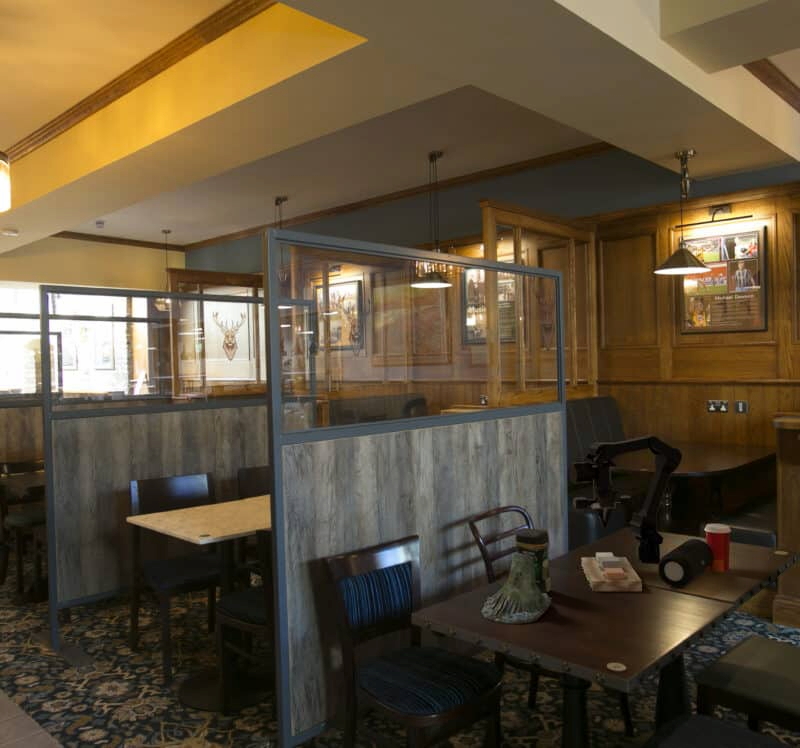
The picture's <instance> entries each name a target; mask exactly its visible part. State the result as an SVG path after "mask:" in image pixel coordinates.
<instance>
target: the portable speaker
mask: <svg viewBox="0 0 800 748" xmlns="http://www.w3.org/2000/svg"><path fill="white" fill-rule="evenodd" d="M712 562H713V552H712V550H711V548H710V546H709V545H708V544H707V542H705V541H704V540H701V539H699V538H691V539H688V540H687V541H684V542H682V543H681V544H680V545H678V546H677V547H675V548H674V549H672V550H671V551H669V552H667V553H666V554H665V555H663V556H662V557H660V562H658V570H657V571H658V574H659V577H660V579H661V581H663V582H664V583H665V584H666V585H668V586H670V587H673V588H678V589H680V588H682V587H683V588H685V587H686V586H687V585H689V584H690V582H692V581H693V580H695V579H696V578H697V577H698V576H700V575H701V574H702V573H703V572H704V571H706V570H708V569H709V567H710V566H711V564H712Z"/></svg>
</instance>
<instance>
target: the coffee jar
mask: <svg viewBox="0 0 800 748" xmlns="http://www.w3.org/2000/svg"><path fill="white" fill-rule="evenodd" d="M514 540H515V541H514V542H515V547H516V549H517V553H518V554H523V555H528V556H532V557H534V570H535V580H536V585H537V586H538V588H539V589H540V592H541V593H545V594H548V593H549V592H550V591H551V589H552V588H551V587H552V585H551V577H550V569H549V561H548V559H549V558H548V552H549V551H548V549H549V546H550V539H549V533H548V531H547V530H545V529H544V530H543V529H537V528H529V527H522V528H519V529H518V530H516V532H515V539H514Z"/></svg>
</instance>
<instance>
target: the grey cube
mask: <svg viewBox="0 0 800 748" xmlns="http://www.w3.org/2000/svg"><path fill="white" fill-rule="evenodd" d="M617 557H618V556H614V557H600V570H601V571H604V568H619V560H618V559H617Z"/></svg>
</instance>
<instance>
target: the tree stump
mask: <svg viewBox="0 0 800 748" xmlns="http://www.w3.org/2000/svg"><path fill="white" fill-rule="evenodd" d="M510 565H511V566H510V570H509V571H510V572H509V575H508V578H507V581H506V582H504V584H503V585H502V586H501V589H499V590H498V591H497V593H495V594H494V595H492V597H490V596H489V597H487V601H486V602H484V605H483V608H482V609H481V614H482V616H483V617H484V618H485V619H487V620H489V621H492V622H494V623H500V624H503V625H504V624H508V625H519V624H529V623H533V622H535V621H538V620H539V619H540V618H541V617H542V616H543V614H544V613H546V611H547V610H548V609H549V608H550V605H551V603H552V597H550V596H549V595H548V593H546V594H545V593H541V592H540V589H539V588H538V586H537V585H536V580H535V570H534V557H532V556H528V555H523V554H518V552H512V556H511V564H510Z"/></svg>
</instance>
